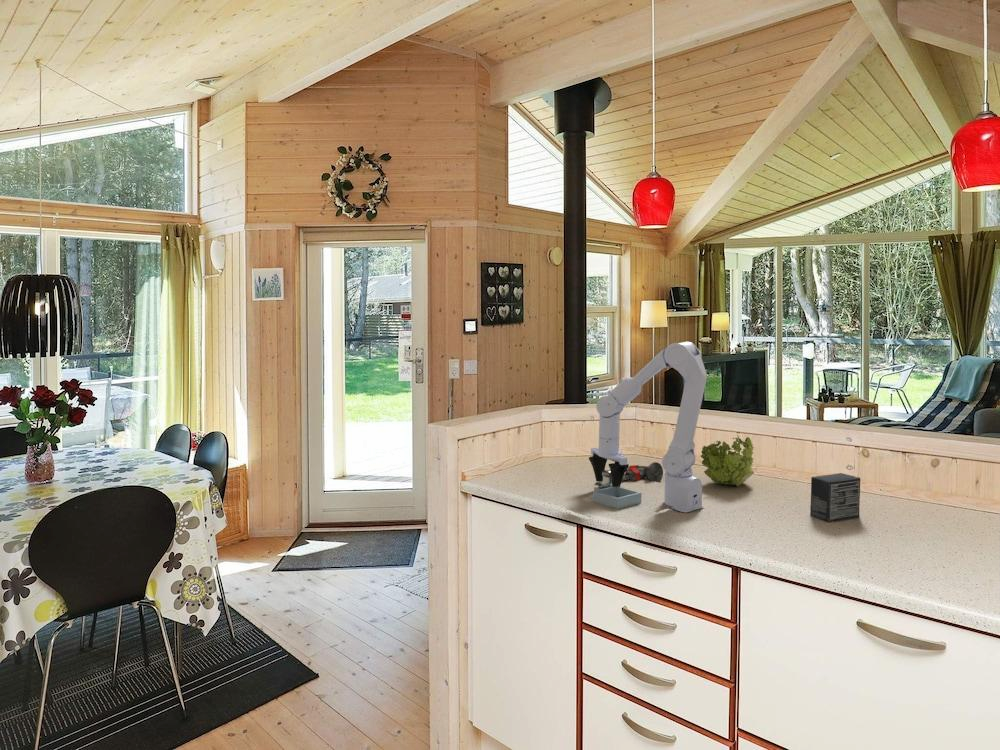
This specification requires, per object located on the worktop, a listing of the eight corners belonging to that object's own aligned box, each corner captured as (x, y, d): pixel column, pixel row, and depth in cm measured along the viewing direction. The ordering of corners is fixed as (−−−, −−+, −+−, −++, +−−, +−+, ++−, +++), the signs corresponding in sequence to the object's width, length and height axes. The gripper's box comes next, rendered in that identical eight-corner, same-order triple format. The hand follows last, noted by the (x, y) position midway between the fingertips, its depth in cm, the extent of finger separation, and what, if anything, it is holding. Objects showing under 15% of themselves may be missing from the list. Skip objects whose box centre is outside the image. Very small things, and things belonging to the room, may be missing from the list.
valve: (638, 476, 224) (672, 479, 211) (578, 492, 209) (612, 496, 197) (635, 457, 224) (670, 458, 211) (575, 471, 209) (609, 474, 197)
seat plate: (623, 495, 193) (623, 488, 193) (608, 499, 190) (608, 492, 189) (607, 490, 198) (607, 484, 198) (593, 494, 194) (593, 487, 194)
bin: (641, 505, 184) (641, 492, 183) (617, 511, 178) (617, 498, 178) (616, 497, 191) (616, 485, 191) (592, 503, 185) (592, 491, 185)
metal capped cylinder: (617, 492, 193) (618, 471, 193) (608, 494, 191) (608, 473, 190) (608, 489, 196) (608, 469, 196) (598, 491, 194) (598, 471, 193)
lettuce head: (762, 479, 192) (718, 441, 194) (725, 507, 202) (683, 471, 203) (772, 447, 206) (731, 412, 208) (737, 475, 216) (698, 441, 217)
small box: (839, 511, 178) (841, 471, 177) (860, 518, 172) (862, 477, 171) (808, 515, 174) (810, 475, 173) (828, 523, 168) (830, 481, 167)
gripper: (636, 441, 188) (635, 488, 189) (605, 431, 200) (604, 476, 202) (616, 443, 184) (614, 492, 186) (585, 433, 197) (584, 479, 199)
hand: (607, 484), depth 194 cm, fingers open, 7 cm apart
